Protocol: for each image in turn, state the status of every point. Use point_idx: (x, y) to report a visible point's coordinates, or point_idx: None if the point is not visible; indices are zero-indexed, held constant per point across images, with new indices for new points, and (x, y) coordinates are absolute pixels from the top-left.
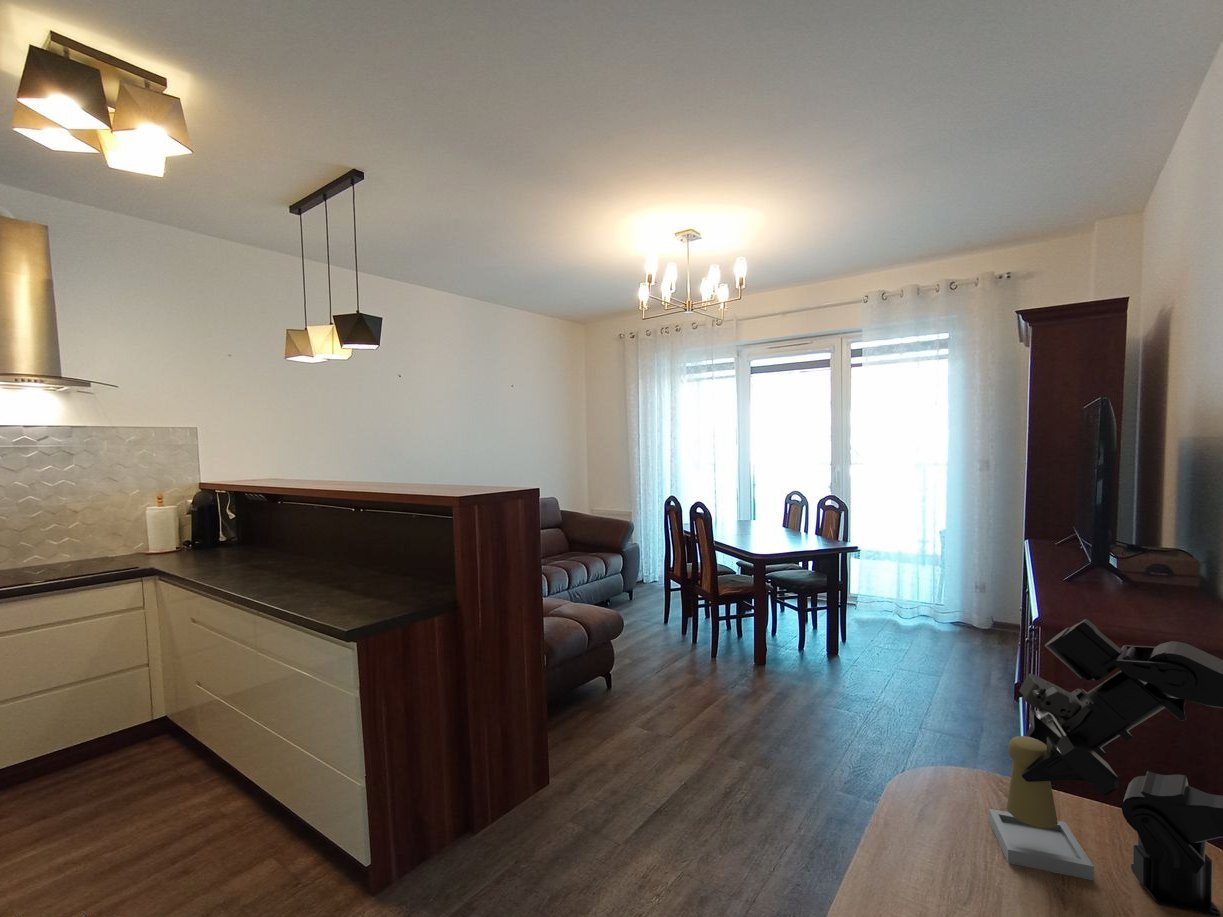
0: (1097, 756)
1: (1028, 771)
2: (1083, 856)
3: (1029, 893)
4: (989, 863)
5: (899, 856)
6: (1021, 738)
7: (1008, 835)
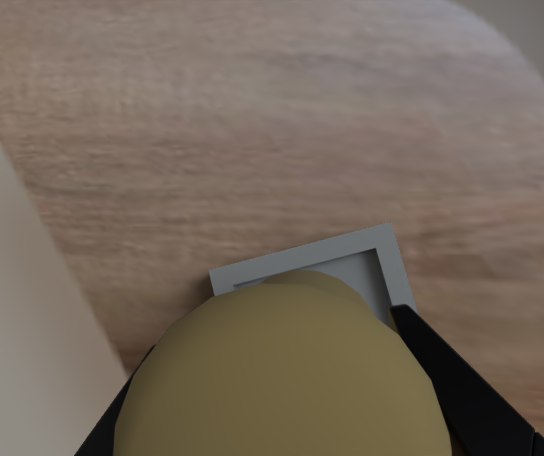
0: None
1: (122, 393)
2: None
3: (133, 311)
4: (192, 229)
5: (105, 44)
6: (298, 416)
7: (276, 273)
